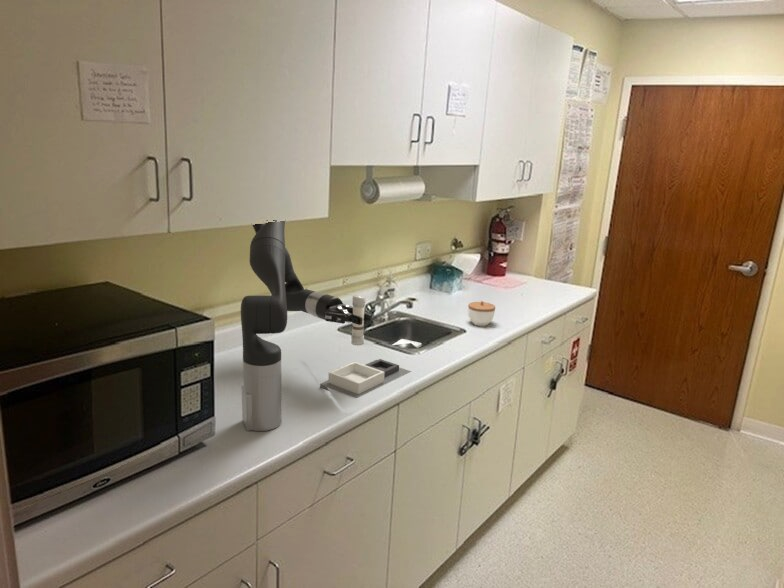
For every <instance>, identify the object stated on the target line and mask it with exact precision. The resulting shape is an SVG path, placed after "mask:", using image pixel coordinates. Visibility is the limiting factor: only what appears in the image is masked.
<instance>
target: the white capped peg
mask: <svg viewBox="0 0 784 588" xmlns="http://www.w3.org/2000/svg"><path fill="white" fill-rule="evenodd" d="M351 306H352V307H353V315H356V316H360V317H362V324H361V325H358V324H355V323H352V325H351V328H352V329H351V330H352V332H351V333H352V334H351V337H350V338H351V342H350V343H351V345H353V346H357V347H358V346H363V345H364V344H365V335H364V332H365V331H364V330H365V328H364V327H365V325H364V323H365V321H364V309H365V306H366V296H365V295H363V294H354V295H352V305H351Z"/></svg>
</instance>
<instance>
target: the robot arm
mask: <svg viewBox="0 0 784 588" xmlns="http://www.w3.org/2000/svg"><path fill="white" fill-rule="evenodd" d="M273 221H275V222H268V223H266V222H264V224H255V225H252V229H253V230H254V232H255V234H254V236H253V238H252V239H251V241H250V247H249V265H250V267H251V268H250V269H251V270H252V271H253V273H254V274H255V275H256V276H257V278H258V279H259V280H260V281H261V282H262V283H263V284H264V285H265V286H266V288H267V289H268V290H269V292H270V294H271V295H270V294H269V295H245V296H244V297H242V300H241V303H240V321H241V322H240V324H241V334H242V374H243V375H242V378H243V380H242V381H243V383H242V384H243V385H242V386H241V407H242V408H241V412H242V414H241V415H242V418H241V419H242V422H243V425H244V427H245V429H246V431H247V432H248V431H256V432H266V431H270V430H274V429H276V428H278V427H279V426H280V425H281V424H282V417H283V416H282V349H281V347H280V346H279V345H278V344H276V343H274V342H271V341H268V340H265V339H263V338H261V337H260V336H258V335H260V334H261V335H264V334H265V335H267V334H268V335H269V334H273V335H274V334H281V333H283V332H285V330H286V328H287V324H288V312H303V313H306V314H309V315H311V316H313V317H314V318H315V317H316V318H317V319H321V320H323V321H325V322H329V323H330V322H331V323H337V324H342V325H343V324H345V323H348V324H349V323H352V324H353V323H355V324H358V325H361V324H362V317H360V316H356V315H353V305H349V304H346V303H343V301H342V300H341V299H340V298H339V297H337V296H334V295H330V294H328V293H325V292H317V291H314V290H312V289H306V288H304V286H303V284H302V282H301V281H300V279H299V278H298V276H297V274H296V273H295V270H294V267H293V266H294V265H293V263H292V258H291V255H290V253H289V251H288V250H287V248H286V242H285V240H286V239H285V229H286V228H285V226H286V220H285V221H280V222H277V220H273ZM364 322H367V323H371V322H372V314H371V313H367V312H366V308H364Z"/></svg>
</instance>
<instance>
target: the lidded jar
mask: <svg viewBox="0 0 784 588" xmlns="http://www.w3.org/2000/svg"><path fill="white" fill-rule="evenodd" d="M467 306H468V310H467V311H468V317H469V320H470V321H471V323H472V324H473V325H475V326H478V327H486V325H487V326H488V325H489V324H490V323H492V320H493V319H494V317H495V312H496V311H495V310H496V305H494V304H492V303H490V302H484V301H483V300H482V301H481V300H480V301H472V302H469V303H468V305H467Z"/></svg>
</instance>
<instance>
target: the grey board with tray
mask: <svg viewBox="0 0 784 588" xmlns="http://www.w3.org/2000/svg"><path fill="white" fill-rule="evenodd" d="M411 372H412V370H408V369H405V368H402V367H400V365H399V364H397V363H393V362H391V361H388V360H385V359H383V358H382V359H381V358H379V359H375V360H373V361H370V362H367V363H366V364H364V363H363V364H362V363H360V362H357V361H352V362H351V363H348V364H346V365H343V366H341V367H338V368H336V369H333V370H330V371H329V372H328V380H326V381H323V382H320V384H319V388H321V389H323V390H325V391H328V392H330V391H329V389H328V388H330V389H332V390H335V391H338V392H340V393H343V394H345V395H347V396H350V397H352V398H355V399H357V398H360V397H362V396H364V395H367V394H368V393H370V392H372V391H374V390H375V391H376V390H377V389H379V388H380V387H383V386H385V385H387V384H389V383H391V382H393V381H395V380H397V379H399V378H401V377H403V376H405V375H407V374H410V373H411Z"/></svg>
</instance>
